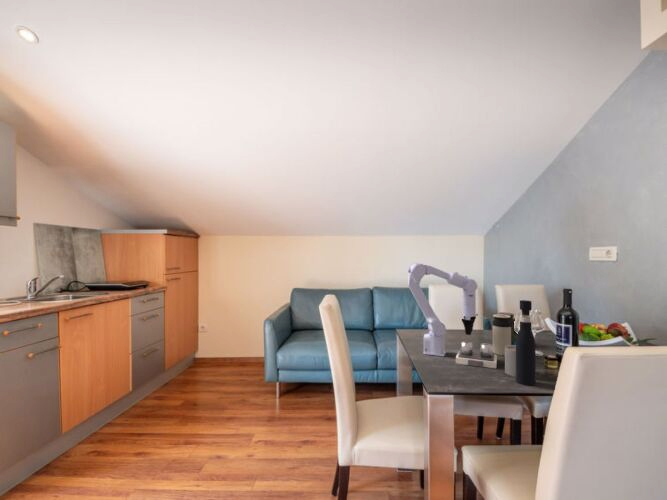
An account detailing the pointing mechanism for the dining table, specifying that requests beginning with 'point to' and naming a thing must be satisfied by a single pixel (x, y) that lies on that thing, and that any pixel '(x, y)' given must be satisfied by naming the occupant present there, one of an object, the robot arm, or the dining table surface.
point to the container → (513, 333)
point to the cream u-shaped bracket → (476, 360)
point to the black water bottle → (525, 348)
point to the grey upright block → (510, 360)
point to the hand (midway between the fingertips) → (469, 333)
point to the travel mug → (501, 333)
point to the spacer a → (467, 348)
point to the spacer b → (486, 350)
